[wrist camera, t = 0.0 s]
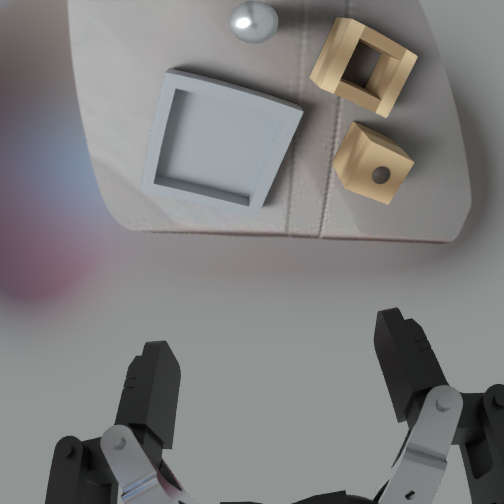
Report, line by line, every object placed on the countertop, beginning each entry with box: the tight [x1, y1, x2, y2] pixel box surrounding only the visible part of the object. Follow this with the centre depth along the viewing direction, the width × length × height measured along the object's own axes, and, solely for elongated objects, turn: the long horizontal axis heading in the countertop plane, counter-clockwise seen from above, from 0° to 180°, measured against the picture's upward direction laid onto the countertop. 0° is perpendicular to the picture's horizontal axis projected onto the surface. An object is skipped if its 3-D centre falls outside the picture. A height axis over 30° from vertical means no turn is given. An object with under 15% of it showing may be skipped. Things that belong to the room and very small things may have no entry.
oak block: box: [310, 17, 418, 118], centre depth 22 cm, size 6×6×4 cm
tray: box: [140, 68, 304, 219], centre depth 28 cm, size 12×12×2 cm
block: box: [332, 121, 415, 204], centre depth 28 cm, size 5×5×5 cm
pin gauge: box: [230, 1, 279, 43], centre depth 18 cm, size 3×3×10 cm
